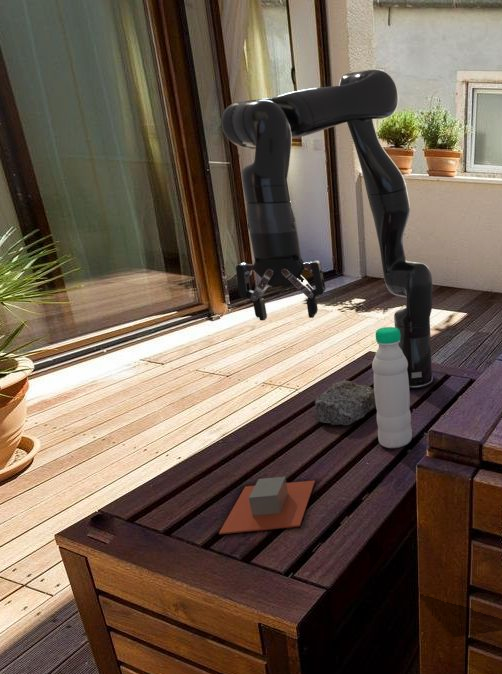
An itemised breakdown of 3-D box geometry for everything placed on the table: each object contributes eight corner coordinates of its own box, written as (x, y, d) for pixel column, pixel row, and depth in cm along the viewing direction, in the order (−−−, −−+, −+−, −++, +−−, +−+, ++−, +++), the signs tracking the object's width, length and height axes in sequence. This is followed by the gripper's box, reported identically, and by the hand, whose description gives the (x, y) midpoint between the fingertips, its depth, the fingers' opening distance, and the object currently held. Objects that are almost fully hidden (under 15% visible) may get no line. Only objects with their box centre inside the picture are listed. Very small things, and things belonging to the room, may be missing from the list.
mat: (245, 487, 85) (245, 486, 85) (315, 481, 87) (315, 480, 86) (219, 534, 73) (218, 533, 73) (299, 526, 75) (299, 525, 75)
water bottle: (401, 452, 96) (393, 336, 88) (371, 446, 98) (361, 332, 90) (418, 435, 103) (412, 326, 94) (389, 430, 105) (381, 322, 97)
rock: (352, 432, 104) (385, 405, 118) (351, 406, 102) (385, 381, 116) (303, 423, 107) (341, 397, 121) (300, 397, 105) (339, 374, 119)
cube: (261, 496, 82) (258, 478, 81) (288, 493, 83) (285, 476, 82) (252, 516, 77) (248, 497, 76) (280, 513, 78) (277, 495, 77)
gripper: (320, 225, 86) (331, 310, 92) (237, 227, 84) (253, 314, 90) (312, 230, 80) (324, 322, 85) (221, 232, 77) (239, 326, 83)
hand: (287, 318), depth 87 cm, fingers open, 8 cm apart
